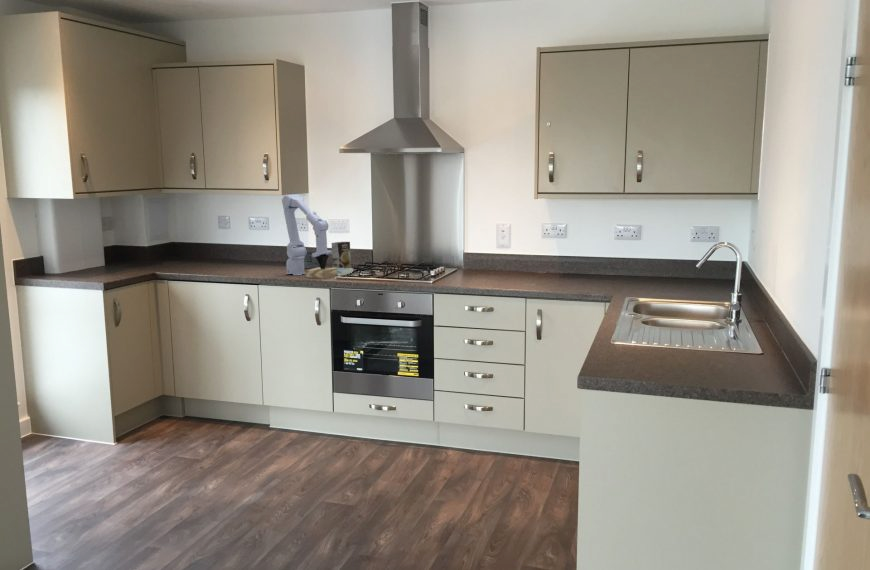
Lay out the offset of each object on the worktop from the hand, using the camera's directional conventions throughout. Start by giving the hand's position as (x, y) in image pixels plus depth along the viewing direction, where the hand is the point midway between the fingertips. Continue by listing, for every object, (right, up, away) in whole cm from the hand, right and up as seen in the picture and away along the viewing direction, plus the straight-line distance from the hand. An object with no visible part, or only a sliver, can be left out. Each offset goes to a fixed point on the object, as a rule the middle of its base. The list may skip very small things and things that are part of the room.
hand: (322, 268), depth 390 cm
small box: (-11, +1, +37) cm, 38 cm away
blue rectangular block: (+6, -1, +12) cm, 13 cm away
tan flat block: (-1, -4, +3) cm, 5 cm away
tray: (+7, -3, +11) cm, 13 cm away
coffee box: (+7, -1, +26) cm, 27 cm away
